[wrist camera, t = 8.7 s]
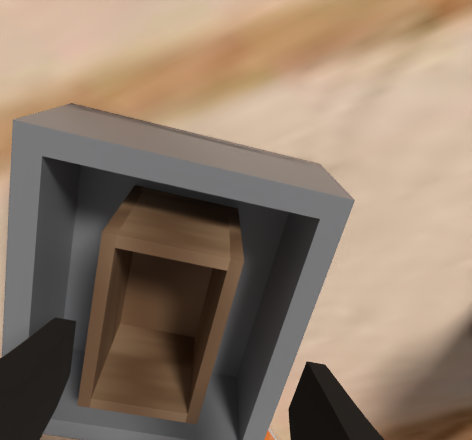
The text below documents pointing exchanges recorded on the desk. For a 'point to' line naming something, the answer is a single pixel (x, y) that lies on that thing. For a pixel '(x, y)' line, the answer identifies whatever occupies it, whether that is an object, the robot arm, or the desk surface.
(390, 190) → the desk surface
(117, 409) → the small crate
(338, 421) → the robot arm
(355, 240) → the desk surface
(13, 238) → the big crate
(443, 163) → the desk surface
